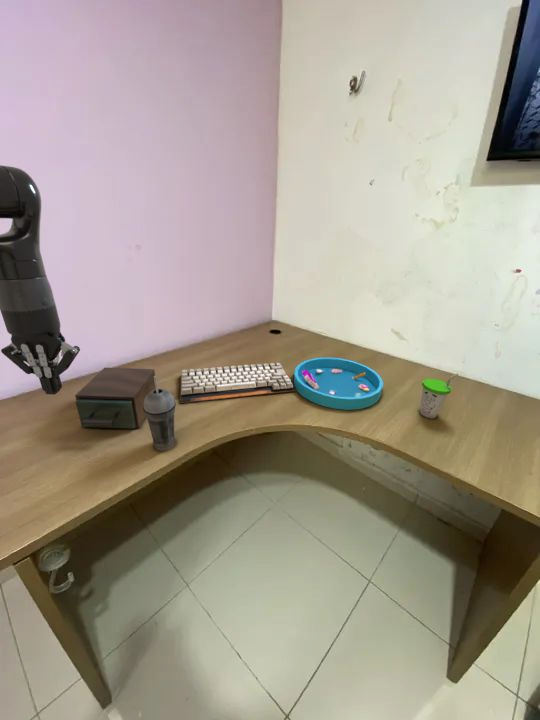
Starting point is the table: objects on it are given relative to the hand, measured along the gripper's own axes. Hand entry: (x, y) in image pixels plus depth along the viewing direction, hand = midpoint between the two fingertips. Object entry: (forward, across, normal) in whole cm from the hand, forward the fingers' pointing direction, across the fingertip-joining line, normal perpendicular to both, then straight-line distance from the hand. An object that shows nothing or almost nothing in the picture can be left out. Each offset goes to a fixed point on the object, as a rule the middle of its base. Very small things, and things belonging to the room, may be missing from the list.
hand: (53, 392), depth 59 cm
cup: (+20, -91, -27) cm, 97 cm away
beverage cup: (+21, -16, -10) cm, 28 cm away
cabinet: (+21, 0, -24) cm, 32 cm away
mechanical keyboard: (+21, -31, -42) cm, 56 cm away
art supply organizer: (+20, -66, -43) cm, 82 cm away
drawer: (+20, 0, -20) cm, 28 cm away
